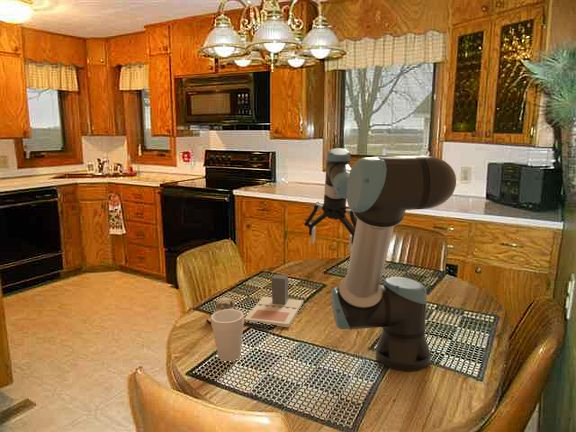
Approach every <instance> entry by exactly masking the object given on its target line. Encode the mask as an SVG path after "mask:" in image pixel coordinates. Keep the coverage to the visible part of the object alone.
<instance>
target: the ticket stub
mask: <svg viewBox="0 0 576 432" xmlns="http://www.w3.org/2000/svg"><path fill="white" fill-rule="evenodd" d="M271 296H272V297H270V296H263V297H261V299H259V301H258V302H257V303H256V305H257V304H259V305H269V306H279V307H289V308H298V309H300V308H301V309H302V307H303V306H302V304H303V305H304V300H303V299H302V300H301V299H292V298H289V276H288V275H286V274H274V275H273V276H272V277H271ZM301 306H302V307H301ZM301 309H300V310H301Z"/></svg>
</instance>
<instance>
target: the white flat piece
mask: <svg viewBox="0 0 576 432" xmlns="http://www.w3.org/2000/svg"><path fill="white" fill-rule="evenodd" d="M298 311H299V312H300V310H299V309H298V308H289V307H279V306H269V305H259V304H257V303H256V305H254V307H253V308H252V309H251V310H250V311H249V312H248V313H247V315H246V316H245V317H244V321H251V322H252V321H253V322H261V323H267V324H273V325H277V326H283V327H289V326H290V325H291V326H292V324H291V323H293V322H294V321H293V320H295V319H296V317H297V316H298V314H299V312H298ZM297 313H298V314H297ZM296 315H297V316H296ZM295 316H296V317H295ZM294 318H295V319H294ZM291 326H290V327H291ZM290 327H289V328H290Z"/></svg>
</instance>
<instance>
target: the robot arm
mask: <svg viewBox="0 0 576 432" xmlns="http://www.w3.org/2000/svg"><path fill="white" fill-rule="evenodd" d="M351 160H352V159H351V152H350V151H349V150H347V149H345V148H342V147H341V148H331V149H329V150H328V152H327V155H326V159H325V163H326V166H325V181H324V195H323V204H321V203H320V202H319V201H316V202H315V204H314V206H313V210H312V211H311V212H310V215H309V216H308V217H307V219H306V220H305V222H304V226H305V227H308V235H309V236H310V237H311V239H310V240H311V241H310V245H311V246H312V245H314V244H315V241H316V233H317V232H316V230H317V226H316V225H318V224H319V223H320V222H322V221H323V220H325V218H327V219H330V220H331V219H332V220H336V221H338V220H339V221H340V223H342V224H343V226H344V227H345V228H346V230H347V231H348V232H349V239H348V247H347V248H348V250H347V252H348V253H350V257H349V261H348V262H349V263H348V266H347V267H348V268H347V271H346V275H345V276H344V277H343V278H342V279H341V281H340V282H339V285H338V286H334V287H332V288H331V289H330V298H331V307H332V312H333V317H334V322H335V325H336V327H337V328H338V329H339V330H349V331H352V330H360V329H363V330H364V329H375V328H382V331H381V334H380V337H379V338H378V342H377V344H376V347H375V357H376V359H377V361H378V362H379V363H380V364H382V365H384V366H385V367H387V368H389V369H392V370H396V371H400V372H417V371H420V370H424V369H425V368H427V367H429V365H430V362H431V352H430V348H429V345H428V341H427V338H426V322H427V321H426V320H427V319H426V317H427V305H428V299H427V295H428V294H427V288H426V287H425V285H423V284H422V283H421V282H419V281H417V280H415V279H412V278H408V277H404V276H403V277H402V276H388V277H385V278H384V281H383V284H380V282H381V278H382V274H383V271H384V267H385V263H386V260H387V255H388V251H389V247H390V243H391V240H392V235H393V231H394V227H396V226H398V225H400V224H401V223H402V221H403V220H404V217H405V214H406V211H414V210H415V211H417V210H427V209H433V208H435V207H439V206H440V205H442V204H445V202H447V201H448V200H449V199H450V198H451V197H452V195H453V194H454V192H455V190H456V187H457V175H456V172H455V171H454V168H453V167H452V166H451V165H450V164H449V163H448V162H446V161H445V160H443V159H441V158H439V157H436V156H435V157H434V156H430V155H411V156H410V155H407V156H380V155H373V156H371V157H362V158H360V159H358V160H356V161H355V162H354V163H353V164H352V167H351ZM347 205H348V208H347ZM320 210H322V213H321V214H320V215H319V216H318V217H316V218H315V219H314V220H313V221H312V219H313V218H314V217H315V215H316V213H317V212H318V211H320ZM346 214H347V215H346ZM347 216H349V218H350V219H348V217H347ZM350 221H351V222H350Z"/></svg>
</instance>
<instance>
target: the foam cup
mask: <svg viewBox="0 0 576 432" xmlns="http://www.w3.org/2000/svg"><path fill="white" fill-rule="evenodd" d="M210 316H211V323H210V326H211V327H212V332H213V336H214V337H213V338H214V342H215V346H216V352H217V353H216V354H217V357H218V360H219V359H220V360H222V361H234V360H236V359H238V358H239V357H240V358H241V352H242V343H243V331H244V324H245V323H244V319H245V317H244V312H242V311H241V310H239V309H236V308H235V309H225V310H220V311H217V312H215V311H214V312H213V313H212V314H211V315H210ZM240 358H239V359H240ZM239 359H238V360H239ZM220 360H219V361H220Z"/></svg>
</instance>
